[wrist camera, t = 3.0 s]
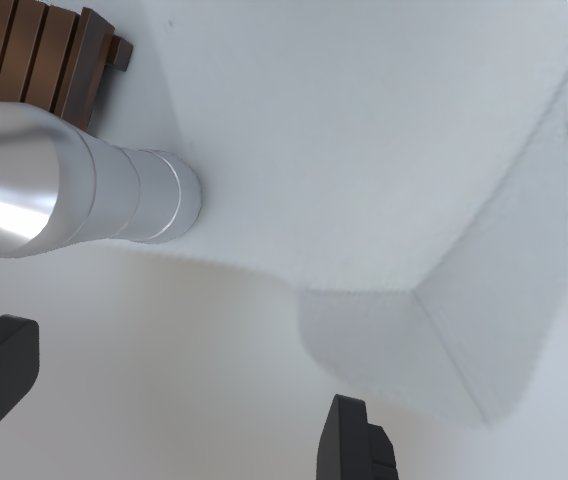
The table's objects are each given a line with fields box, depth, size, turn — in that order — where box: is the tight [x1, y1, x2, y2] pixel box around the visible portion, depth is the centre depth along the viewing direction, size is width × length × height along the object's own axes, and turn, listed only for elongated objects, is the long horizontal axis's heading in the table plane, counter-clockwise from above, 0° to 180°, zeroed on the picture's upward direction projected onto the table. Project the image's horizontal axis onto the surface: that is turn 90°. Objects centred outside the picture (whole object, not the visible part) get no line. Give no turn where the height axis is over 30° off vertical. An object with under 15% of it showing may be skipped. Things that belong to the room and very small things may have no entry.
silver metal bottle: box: [0, 102, 202, 258], centre depth 22 cm, size 6×7×20 cm
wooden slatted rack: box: [0, 0, 133, 133], centre depth 31 cm, size 14×14×4 cm
